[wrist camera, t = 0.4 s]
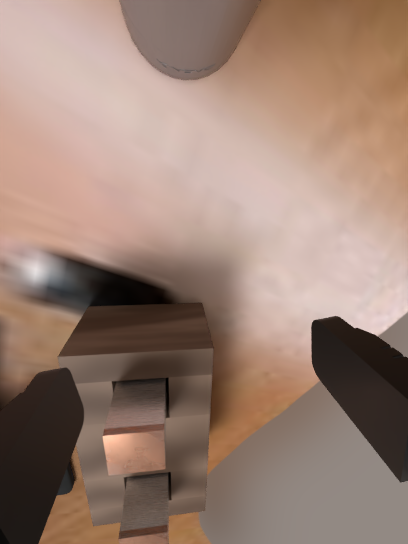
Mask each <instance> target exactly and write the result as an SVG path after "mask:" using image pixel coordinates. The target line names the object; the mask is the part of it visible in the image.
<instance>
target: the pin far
mask: <svg viewBox="0 0 408 544" xmlns="http://www.w3.org/2000/svg"><path fill="white" fill-rule="evenodd" d="M119 544H169V472H165V473H156V474H148V475H139V476H130V477H127V482H126V490H125V497H124V504H123V511H122V518H121V525H120V533H119Z"/></svg>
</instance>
